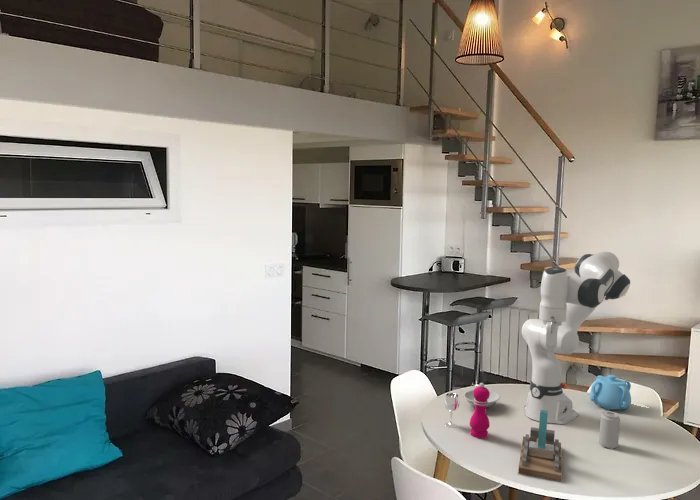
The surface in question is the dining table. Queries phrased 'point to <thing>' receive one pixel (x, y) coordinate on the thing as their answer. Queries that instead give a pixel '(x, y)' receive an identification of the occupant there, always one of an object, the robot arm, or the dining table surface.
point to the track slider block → (541, 440)
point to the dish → (491, 400)
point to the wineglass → (451, 406)
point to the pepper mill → (480, 413)
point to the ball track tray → (538, 464)
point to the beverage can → (609, 429)
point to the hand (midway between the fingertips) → (550, 353)
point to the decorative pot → (611, 392)
